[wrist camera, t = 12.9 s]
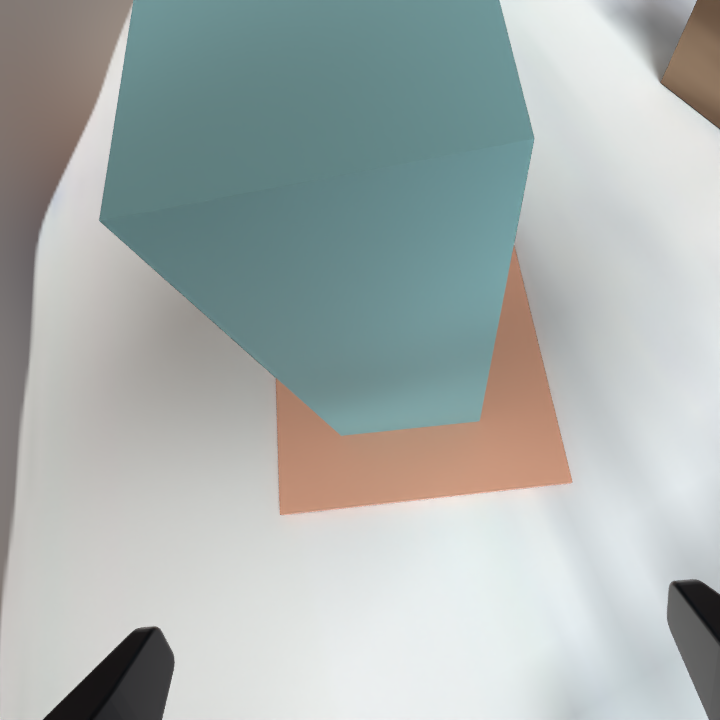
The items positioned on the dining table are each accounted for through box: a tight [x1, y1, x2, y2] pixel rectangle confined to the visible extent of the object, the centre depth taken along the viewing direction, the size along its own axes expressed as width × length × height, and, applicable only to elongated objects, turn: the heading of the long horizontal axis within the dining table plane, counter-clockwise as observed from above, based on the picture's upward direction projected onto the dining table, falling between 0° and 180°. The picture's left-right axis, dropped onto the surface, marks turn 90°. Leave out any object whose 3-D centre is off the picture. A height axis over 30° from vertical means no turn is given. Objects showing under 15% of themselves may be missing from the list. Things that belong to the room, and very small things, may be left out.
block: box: [99, 0, 534, 436], centre depth 12 cm, size 5×5×13 cm
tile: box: [276, 246, 572, 515], centre depth 18 cm, size 10×10×1 cm
